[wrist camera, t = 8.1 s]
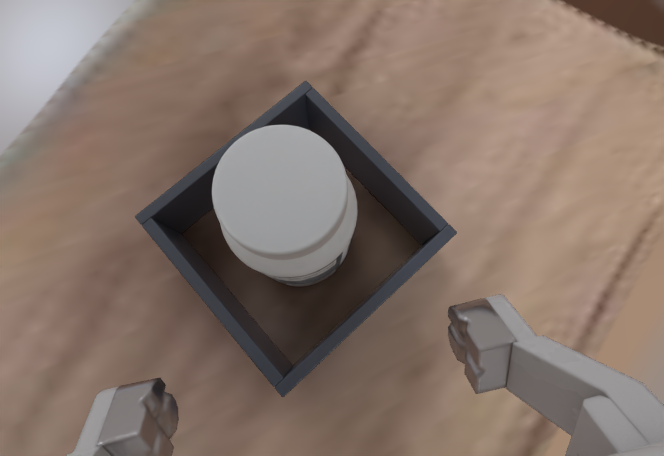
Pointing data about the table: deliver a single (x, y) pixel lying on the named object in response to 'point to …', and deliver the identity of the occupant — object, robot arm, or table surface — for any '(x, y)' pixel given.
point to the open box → (363, 162)
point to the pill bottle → (285, 204)
